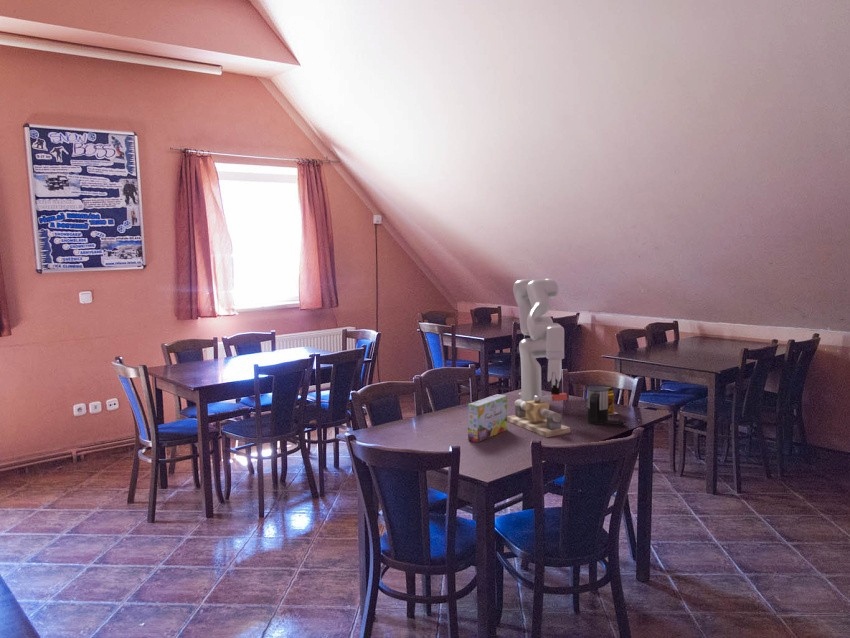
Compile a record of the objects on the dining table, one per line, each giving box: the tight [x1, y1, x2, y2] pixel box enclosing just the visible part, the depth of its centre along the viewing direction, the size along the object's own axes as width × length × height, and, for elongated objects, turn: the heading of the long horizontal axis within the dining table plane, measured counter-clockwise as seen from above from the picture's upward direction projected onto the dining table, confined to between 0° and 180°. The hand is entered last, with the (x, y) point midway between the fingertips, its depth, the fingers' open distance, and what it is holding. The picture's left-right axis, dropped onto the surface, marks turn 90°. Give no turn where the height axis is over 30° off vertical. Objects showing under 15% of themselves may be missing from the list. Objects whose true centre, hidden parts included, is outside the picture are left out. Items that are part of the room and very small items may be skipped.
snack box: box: [467, 393, 508, 443], centre depth 260 cm, size 21×6×15 cm, turn 140°
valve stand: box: [507, 398, 571, 438], centre depth 270 cm, size 28×12×10 cm, turn 27°
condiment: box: [602, 385, 618, 416], centre depth 288 cm, size 7×8×12 cm
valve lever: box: [534, 392, 568, 402], centre depth 270 cm, size 14×3×3 cm, turn 103°
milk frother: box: [586, 385, 627, 426], centre depth 271 cm, size 14×16×15 cm
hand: (555, 396), depth 274 cm, fingers closed
